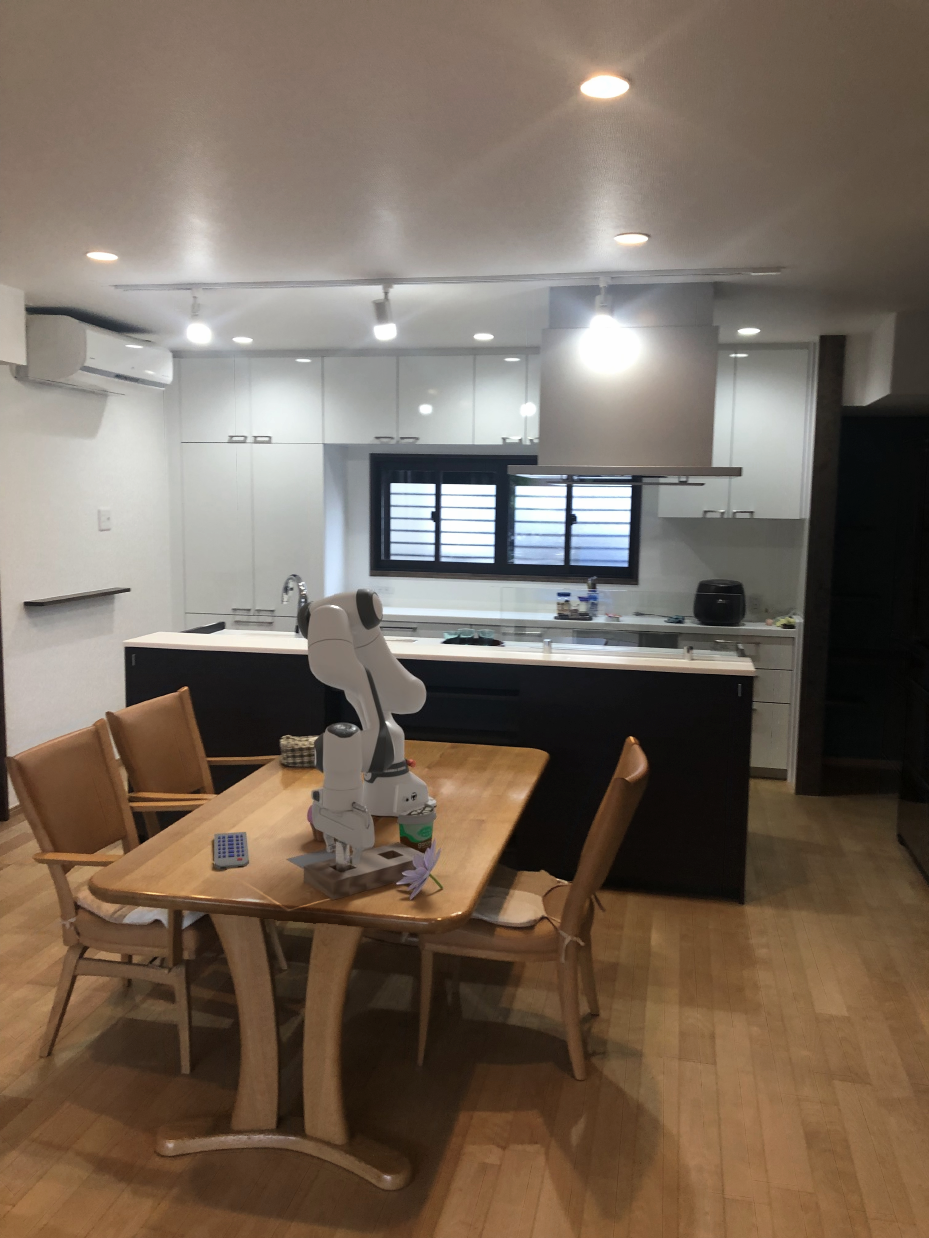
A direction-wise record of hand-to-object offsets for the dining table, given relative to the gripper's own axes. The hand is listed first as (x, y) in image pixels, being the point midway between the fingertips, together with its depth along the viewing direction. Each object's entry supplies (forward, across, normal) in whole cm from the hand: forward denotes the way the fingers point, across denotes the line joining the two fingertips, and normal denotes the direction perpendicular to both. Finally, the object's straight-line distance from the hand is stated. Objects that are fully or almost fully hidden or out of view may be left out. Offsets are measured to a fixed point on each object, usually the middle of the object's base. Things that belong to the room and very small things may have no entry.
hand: (343, 858), depth 213 cm
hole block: (+6, 0, -6) cm, 9 cm away
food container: (+6, +7, -28) cm, 29 cm away
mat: (+6, +15, -4) cm, 17 cm away
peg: (+6, 0, 0) cm, 6 cm away
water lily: (+6, -12, -12) cm, 18 cm away
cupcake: (+6, +28, -12) cm, 31 cm away
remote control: (+7, +34, +10) cm, 37 cm away
